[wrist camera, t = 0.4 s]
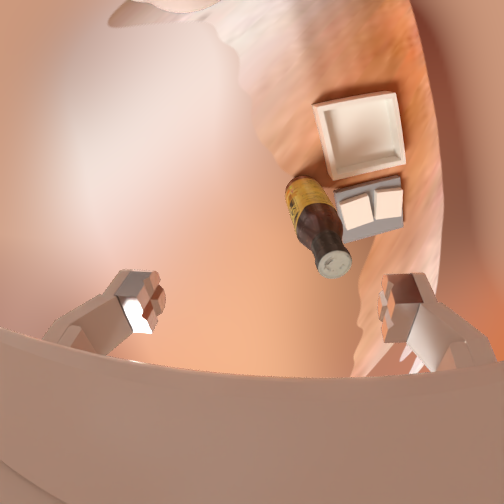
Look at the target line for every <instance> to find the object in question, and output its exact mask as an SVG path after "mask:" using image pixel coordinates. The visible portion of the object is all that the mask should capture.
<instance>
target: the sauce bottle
mask: <svg viewBox="0 0 504 504" xmlns="http://www.w3.org/2000/svg"><path fill="white" fill-rule="evenodd" d="M285 200H286V203H287V206H288V209H289V213H290V216H291V219H292V222H293V225H294V228H295V232H296V235H297V238H298V239H299V241H300V242H301V243H302V244H303V245H304V246H306V247H307V248H308V249H309V250H311V251H312V252H313V254H314V256H315V264H316V267H317V269H318V271H319V273H320V274H321V275H322V276H323V277H326V278H330V279H335V278H339V277H341V276H343V275H344V274H346V273H347V272H348V270H349V269H350V267H351V264H352V258H351V256H350V253H349V252H348V250H347V249H346V248H345V247H344V245H343V243H342V236H343V224H342V222H341V219H340V218H339V216H338V214H337V211H336V210H335V208H334V207H333V205H332V203H331V201H330V200H329V198H328V196H327V195H326V193H325V191H324V190H323V188H322V187H321V185H320V184H319V183H318V182H317V181H316V180H315V179H313V178H311V177H309V176H298V177H296V178H294V179H292V180H291V181H290V182H289V184H288V185H287V187H286V192H285Z"/></svg>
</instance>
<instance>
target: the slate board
mask: <svg viewBox="0 0 504 504" xmlns="http://www.w3.org/2000/svg"><path fill="white" fill-rule="evenodd" d="M390 188H401V181H400V177H399V176H398V175H395V176H390V177H386V178H382V179H378V180H374V181H370V182H366V183H362V184H358V185H354V186H350V187H346V188H342V189H338V190H334V191H333V192H334V197H335V202H336V208H337V213H338V216H339V218H340V219H341V222H342V224H343V236H342V241H343V243H348V242H352V241H355V240H359V239H362V238H366V237H370V236H373V235H377V234H381V233H384V232H388V231H391V230H395V229H399V228H402V227H403V208H402V214H401V216H400V217H393V218H385V219H377V220H376V219H375V218H374V190H380V189H390ZM364 193H366V194H367V195H368V197H369V201H370V206H371V210H372V215H373V220H374V221H372V222H370V223H367V224H364V225H361V226H358V227H356V228H353V229H350V230H347V229H346V227H345V224H344V220H343V217H342V213H341V209H340V206H339V202H341V201H344V200H347V199H349V198H352V197H355V196H358V195H361V194H364Z"/></svg>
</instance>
